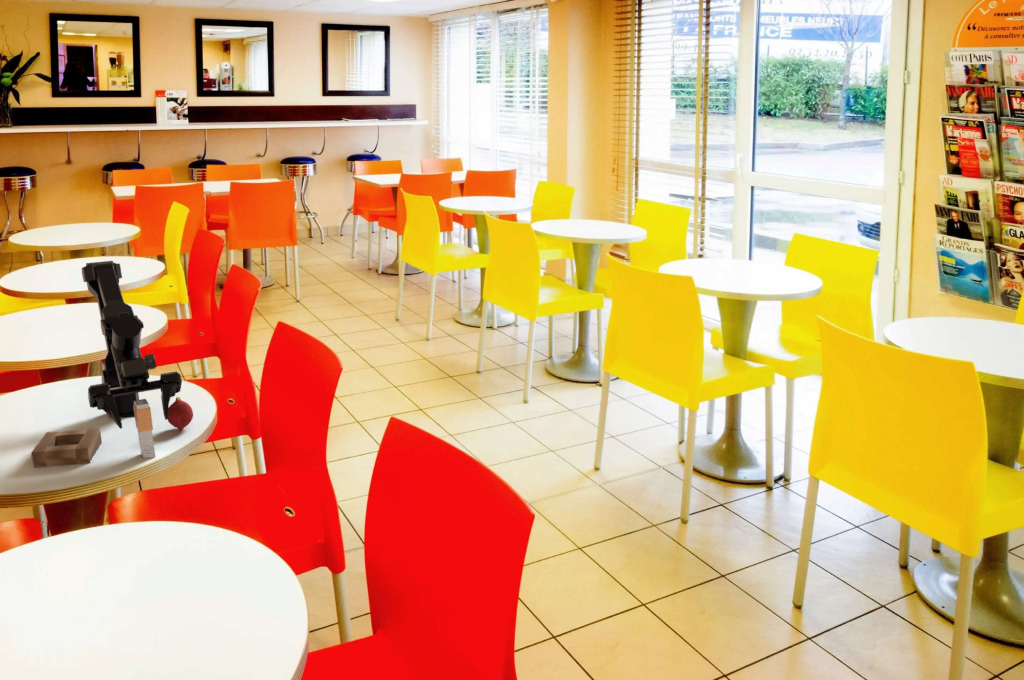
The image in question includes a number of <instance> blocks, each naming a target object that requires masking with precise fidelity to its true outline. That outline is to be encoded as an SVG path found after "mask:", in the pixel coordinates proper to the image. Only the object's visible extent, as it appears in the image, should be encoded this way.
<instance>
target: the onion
mask: <svg viewBox="0 0 1024 680" xmlns="http://www.w3.org/2000/svg"><path fill="white" fill-rule="evenodd" d="M193 419H194V410H193V408H192V406H191V405H190V404H189V403H188V402H186V401H184V400H182V399H181V397H180V396H176V398H175V401H174V402H172V403H171V404H169V407H168V418H167V422H168V423H169V424H170V425H171V426H172V427H174V428H176V429H178V430H184V429H185V428H186V427H188V426H189V424H190V423H191V421H192V420H193Z"/></svg>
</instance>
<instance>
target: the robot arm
mask: <svg viewBox="0 0 1024 680" xmlns="http://www.w3.org/2000/svg"><path fill="white" fill-rule="evenodd" d="M121 267H122V266H121V263H116V262H114V260H108V261H107V260H106V261H96V262H87V263H85V266H83V267H81V276H82V280H83V283H86V286H87V290H88V292H89V293H90V294H91V295H92V296H94V298H96V301H97V305H98V310H99V316H100V329H101V334H102V335H103V336H104V341H105V346H106V350H107V351H106V352H107V354H106V356H105V359H104V361H103V369H102V370H101V383H97V384H92V385H90V386H89V387H88V388H87V399H88V403H89V407H90V408H97V409H96V410H103V411H104V413H106V414H107V415H108V417H109V418H111V419H112V420H113V421H114V423H115V424H116V425H117V427H118V428H119V429H123V423H122V419H121V417H123V418H124V417H135V415H134V408H133V405H134V401H136V400H140V395H139V393H143V392H149V391H156V390H160V393H161V395H160V399H161V406H162V411H163V412H162V413H163V417H164V420H165V421H168V419H167V418H168V408H169V406H170V402H171V398H174V397H175V396H176V394H178V393H180V392H181V388H182V382H183V380H182V376H181V374H180V373H179V372H178V371H170V372H164V373H160V377H159V380H158V379H157V380H151V381H149V379H150V374H149V371H150V370H155V369H156V368H157V361H156V358H155V355H154V353H150V354H149V353H148V354H145V355H144V357H143V356H142V353H141V348H140V345H141V339H142V338H141V337H142V331H143V329H144V328H145V327H144V322H143V321H142V320H141V319H140V318H139V317H138V314H137V315H136V314H134V313H135V312H134V311H133V310H134V309H133V307H132V306H131V305H130V304H128V303H126V302H125V301H124V297H123V294H122V292H121V291H122V290H121V287H120V280H121V279H122V278H123V276H122V268H121Z"/></svg>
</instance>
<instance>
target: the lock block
mask: <svg viewBox="0 0 1024 680" xmlns="http://www.w3.org/2000/svg"><path fill="white" fill-rule="evenodd" d="M101 435H102V434H101V428H100V427H99V428H87V429H86V428H85V429H73V430H60V431H59V430H58V431H47V432H46V433H44V435H43V436H42V438H41V439H40V441H39V442H38V443H37V444H36V445H35V447H34V448H33V449H32V451H31V452H30V453H31V459H32V465H33V468H34V469H35V468H44V467H46V468H47V467H56V466H58V465H59V466H69V465H81V464H82V463H83V464H90V463H91V462H92V460H93V459H92V458H94V457H95V455H96V453H97V452H98V450H99V448H100V447H101V445H102V443H103V442H102V440H103V439H102V436H101ZM99 446H100V447H99ZM96 451H97V452H96ZM94 454H95V455H94ZM93 456H94V457H93ZM90 461H91V462H90ZM83 464H82V465H83Z"/></svg>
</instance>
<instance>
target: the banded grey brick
mask: <svg viewBox="0 0 1024 680" xmlns="http://www.w3.org/2000/svg"><path fill="white" fill-rule="evenodd" d="M133 408H134V415H135V416H134V419H135V420H134V421H135V427H136V429H137V435H138V441H139V450H140V455H141V457H142V459H143V460H148V458H149V459H153V458H156V451H155V450H156V449H155V443H154V436H153V435H154V434H153V430H154V426H153V419H152V412H151V410H152V409H151V407H150V404H149V402H148V400H147V399H146V398H141V399H139V400H136V401H134V405H133Z"/></svg>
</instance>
